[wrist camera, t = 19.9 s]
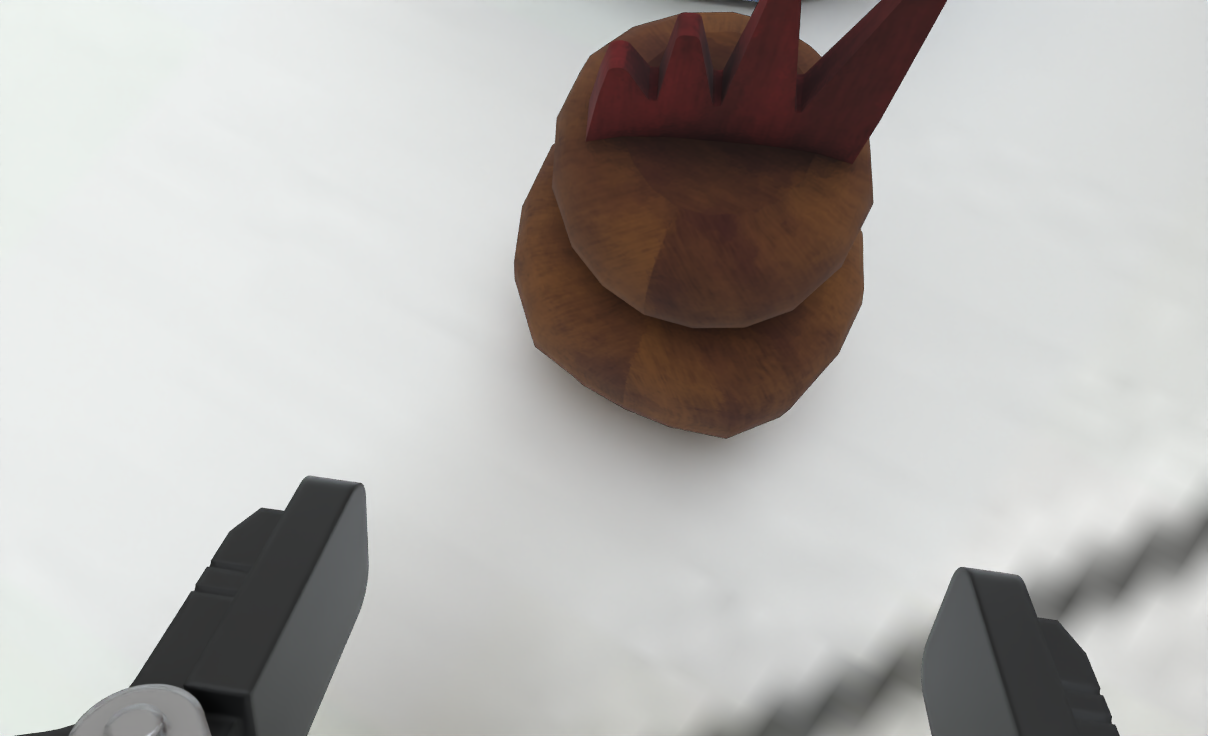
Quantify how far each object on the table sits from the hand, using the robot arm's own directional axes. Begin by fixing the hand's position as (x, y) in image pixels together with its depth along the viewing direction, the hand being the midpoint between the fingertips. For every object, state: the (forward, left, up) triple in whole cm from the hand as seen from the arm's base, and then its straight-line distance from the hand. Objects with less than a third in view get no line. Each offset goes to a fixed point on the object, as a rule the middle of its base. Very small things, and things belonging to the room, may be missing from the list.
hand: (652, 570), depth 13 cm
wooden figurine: (0, -6, -10) cm, 12 cm away
